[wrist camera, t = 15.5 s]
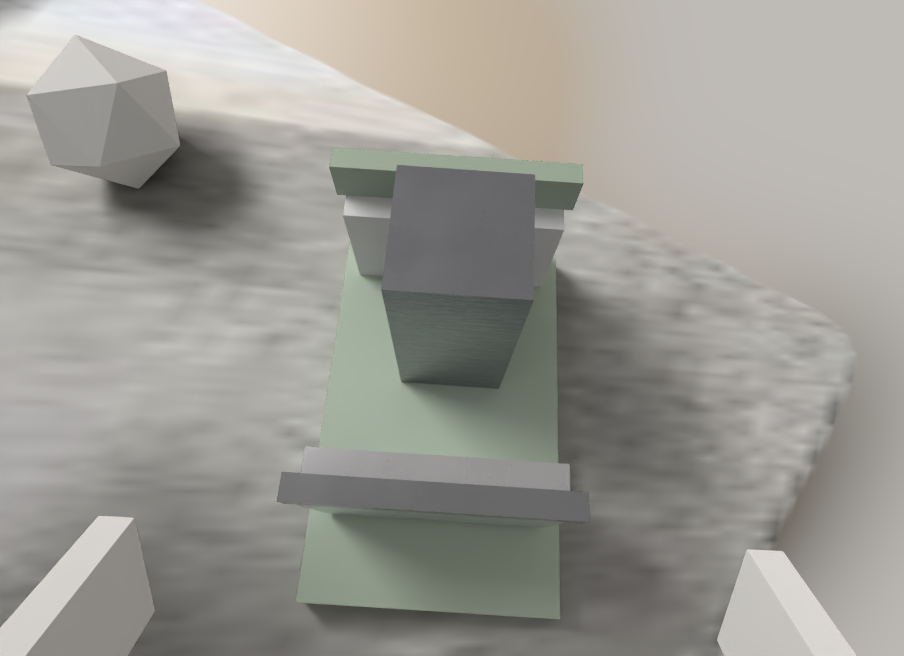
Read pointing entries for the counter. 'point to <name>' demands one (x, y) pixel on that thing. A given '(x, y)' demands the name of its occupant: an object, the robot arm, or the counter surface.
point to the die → (105, 114)
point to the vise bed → (436, 420)
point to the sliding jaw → (434, 488)
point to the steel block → (458, 273)
